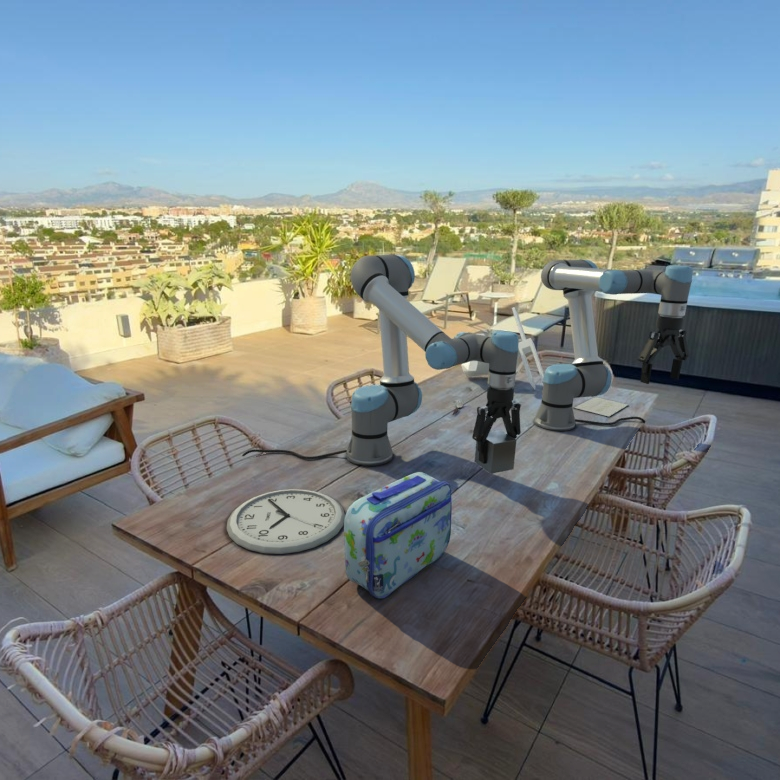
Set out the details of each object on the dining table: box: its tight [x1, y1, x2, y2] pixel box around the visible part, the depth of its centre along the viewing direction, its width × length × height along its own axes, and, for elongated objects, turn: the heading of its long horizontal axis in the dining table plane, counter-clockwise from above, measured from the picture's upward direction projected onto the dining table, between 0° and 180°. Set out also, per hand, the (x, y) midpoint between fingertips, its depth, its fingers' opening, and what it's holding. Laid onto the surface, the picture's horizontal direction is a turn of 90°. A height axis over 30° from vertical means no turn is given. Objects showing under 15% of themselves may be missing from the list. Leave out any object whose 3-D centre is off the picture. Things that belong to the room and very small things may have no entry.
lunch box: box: [343, 471, 453, 599], centre depth 113 cm, size 26×11×21 cm, turn 134°
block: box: [474, 429, 517, 475], centre depth 154 cm, size 8×8×9 cm
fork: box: [452, 399, 465, 416], centre depth 218 cm, size 3×16×2 cm, turn 160°
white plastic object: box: [460, 306, 545, 391], centre depth 259 cm, size 37×45×31 cm
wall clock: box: [226, 488, 346, 555], centre depth 135 cm, size 30×2×30 cm
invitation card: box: [573, 396, 629, 418], centre depth 226 cm, size 21×1×15 cm
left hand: (494, 459), depth 155 cm, fingers closed on block, 8 cm apart
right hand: (659, 380), depth 171 cm, fingers open, 13 cm apart
